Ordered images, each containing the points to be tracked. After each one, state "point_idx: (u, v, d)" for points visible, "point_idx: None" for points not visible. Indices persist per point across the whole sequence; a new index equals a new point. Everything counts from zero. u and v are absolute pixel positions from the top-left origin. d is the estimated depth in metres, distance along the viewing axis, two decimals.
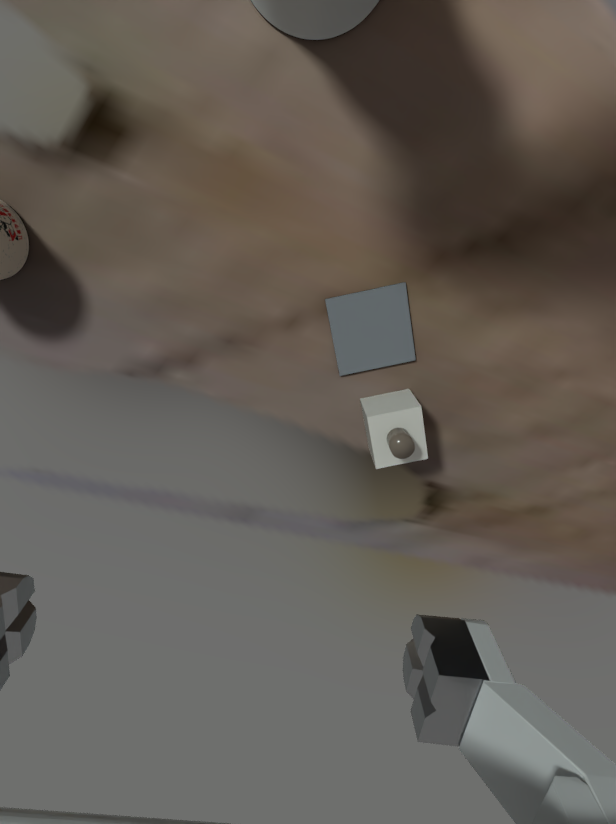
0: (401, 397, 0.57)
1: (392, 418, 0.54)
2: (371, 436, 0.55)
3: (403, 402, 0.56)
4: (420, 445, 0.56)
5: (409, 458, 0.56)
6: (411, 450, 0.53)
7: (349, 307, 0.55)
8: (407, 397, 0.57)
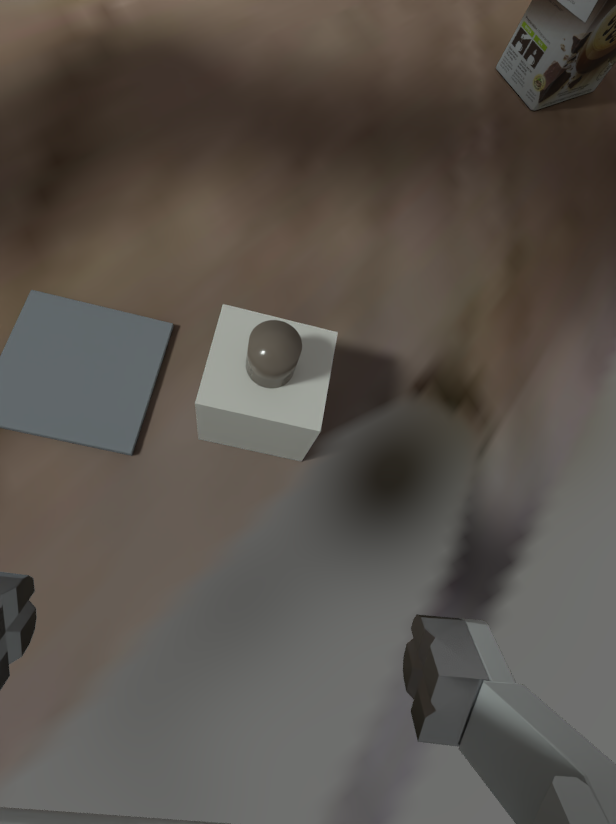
0: None
1: (222, 359, 0.26)
2: (242, 411, 0.25)
3: None
4: (303, 334, 0.27)
5: (323, 362, 0.27)
6: (288, 330, 0.24)
7: (13, 386, 0.29)
8: None
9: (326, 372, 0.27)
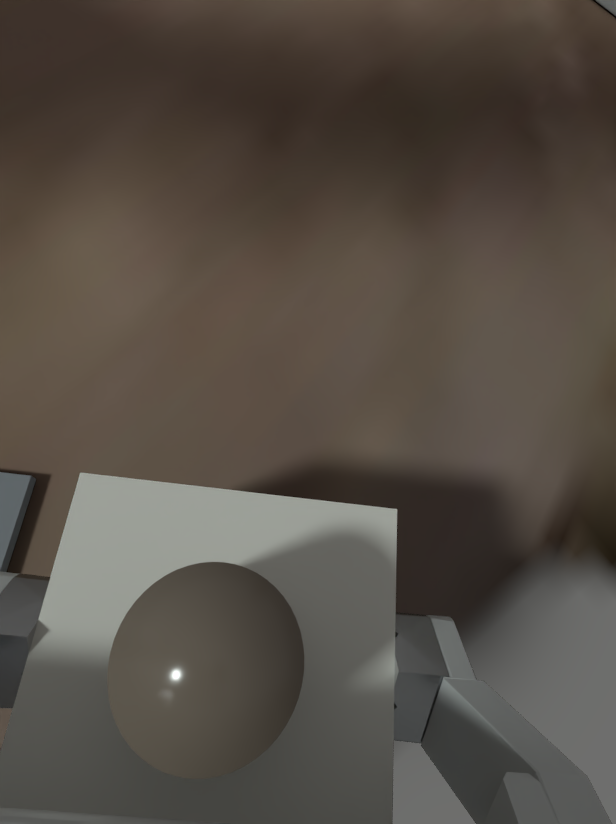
0: None
1: (72, 657, 0.09)
2: None
3: None
4: (307, 530, 0.10)
5: (370, 613, 0.10)
6: (252, 595, 0.07)
7: None
8: None
9: (383, 645, 0.09)
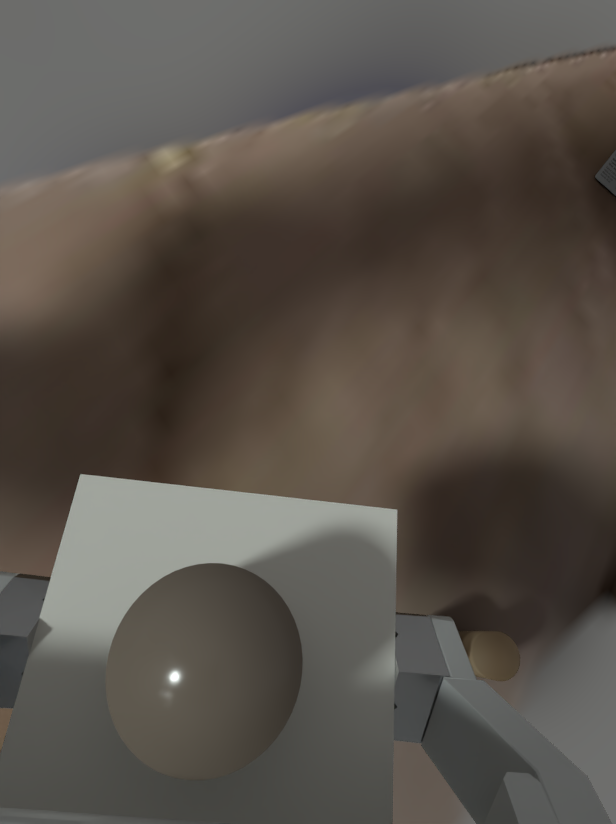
0: None
1: (72, 658, 0.09)
2: None
3: None
4: (307, 531, 0.10)
5: (370, 614, 0.10)
6: (250, 596, 0.07)
7: None
8: None
9: (383, 646, 0.09)
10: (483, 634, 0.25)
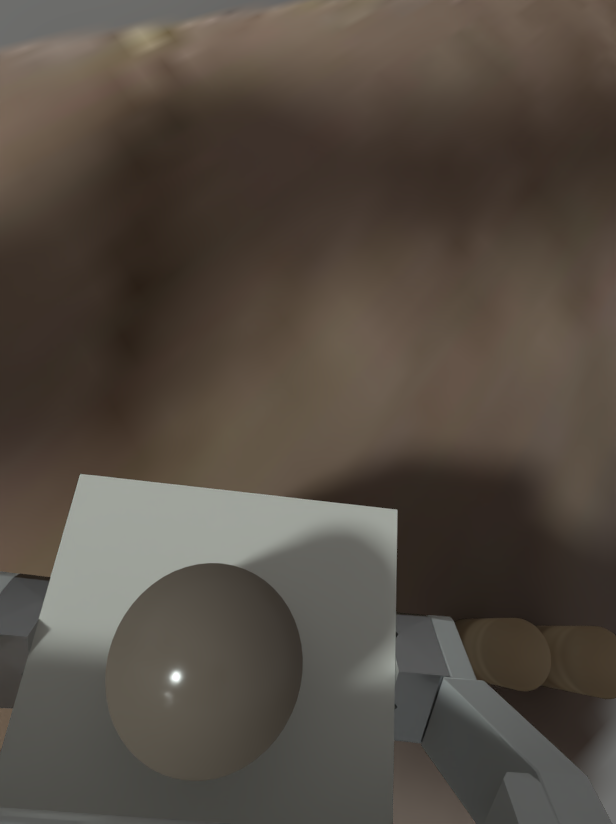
0: None
1: (72, 658, 0.09)
2: None
3: None
4: (307, 531, 0.10)
5: (370, 614, 0.09)
6: (250, 596, 0.07)
7: None
8: None
9: (383, 646, 0.09)
10: (577, 630, 0.17)
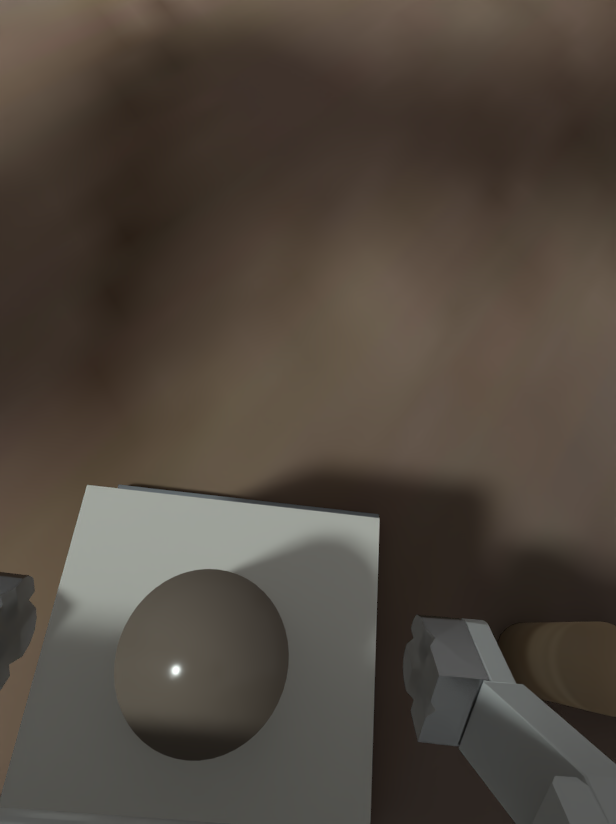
0: None
1: (81, 654, 0.10)
2: None
3: None
4: (296, 538, 0.11)
5: (353, 614, 0.10)
6: (242, 599, 0.08)
7: None
8: None
9: (364, 644, 0.10)
10: None
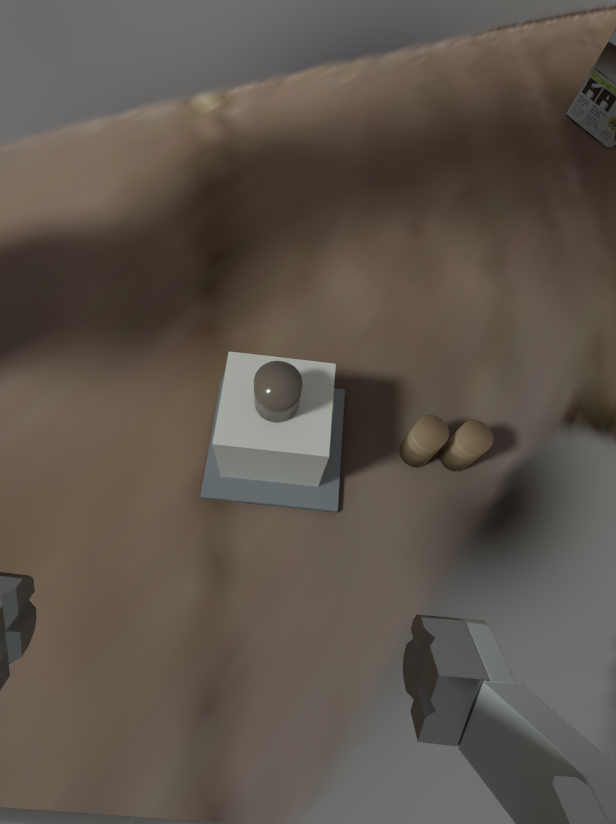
0: None
1: (233, 401, 0.29)
2: (255, 446, 0.28)
3: None
4: (304, 369, 0.30)
5: (325, 393, 0.29)
6: (288, 368, 0.27)
7: None
8: None
9: (329, 401, 0.29)
10: (465, 422, 0.32)
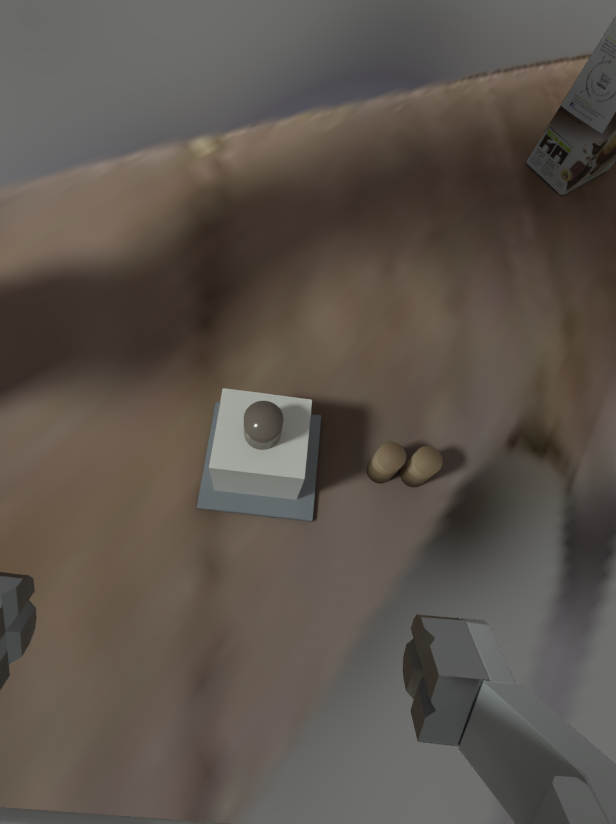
0: None
1: (226, 431, 0.35)
2: (244, 470, 0.34)
3: None
4: (286, 404, 0.36)
5: (302, 425, 0.35)
6: (272, 407, 0.33)
7: None
8: None
9: (305, 432, 0.35)
10: (419, 448, 0.38)
